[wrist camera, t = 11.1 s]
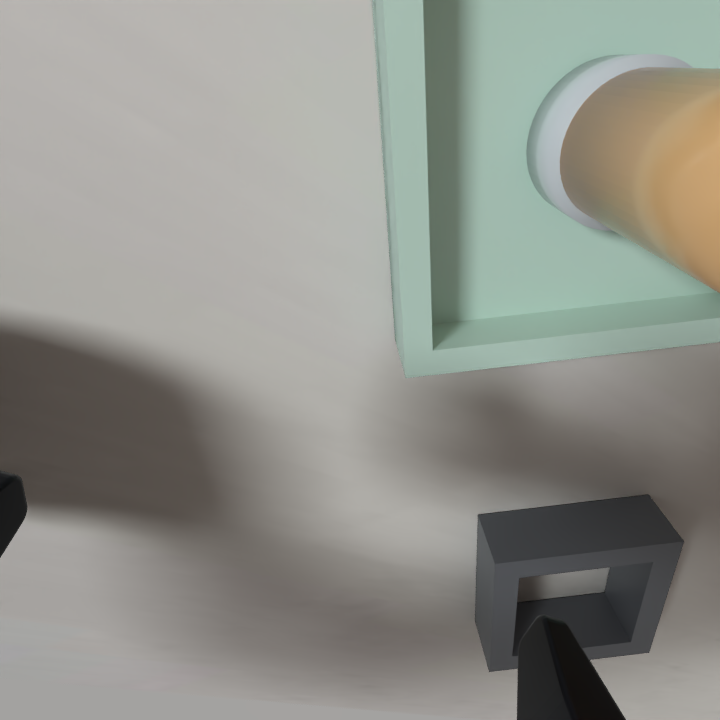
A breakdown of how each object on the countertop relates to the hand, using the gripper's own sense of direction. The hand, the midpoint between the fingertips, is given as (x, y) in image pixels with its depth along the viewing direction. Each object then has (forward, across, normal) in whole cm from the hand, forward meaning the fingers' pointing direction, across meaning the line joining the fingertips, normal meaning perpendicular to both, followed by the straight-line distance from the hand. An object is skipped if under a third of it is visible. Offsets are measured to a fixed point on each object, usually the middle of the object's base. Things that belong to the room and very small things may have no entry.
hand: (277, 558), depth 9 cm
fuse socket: (+14, -14, +14) cm, 25 cm away
